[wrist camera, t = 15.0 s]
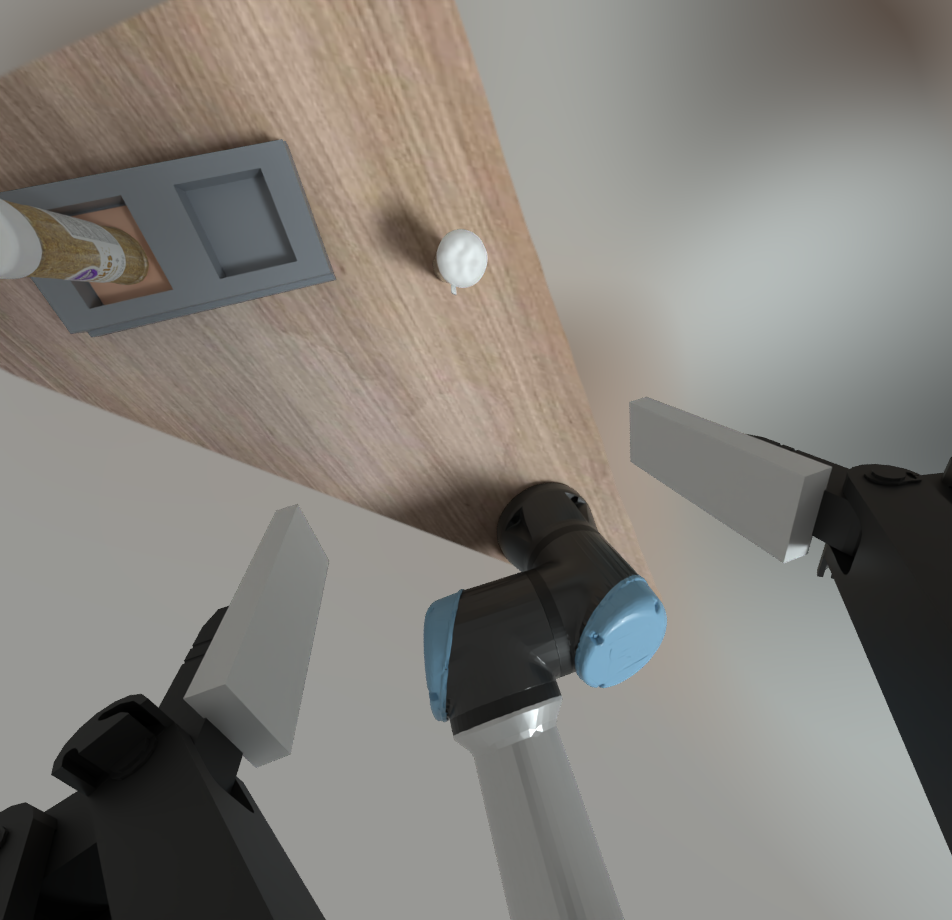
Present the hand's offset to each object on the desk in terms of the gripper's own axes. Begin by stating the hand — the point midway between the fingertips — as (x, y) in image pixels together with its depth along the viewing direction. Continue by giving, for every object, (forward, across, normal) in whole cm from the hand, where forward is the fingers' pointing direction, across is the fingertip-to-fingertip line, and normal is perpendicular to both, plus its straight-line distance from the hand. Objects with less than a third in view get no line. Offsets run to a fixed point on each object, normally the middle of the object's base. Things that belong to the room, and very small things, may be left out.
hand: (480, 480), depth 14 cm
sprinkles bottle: (+31, +22, -15) cm, 41 cm away
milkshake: (+32, -6, -8) cm, 33 cm away
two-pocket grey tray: (+32, +17, -15) cm, 39 cm away
